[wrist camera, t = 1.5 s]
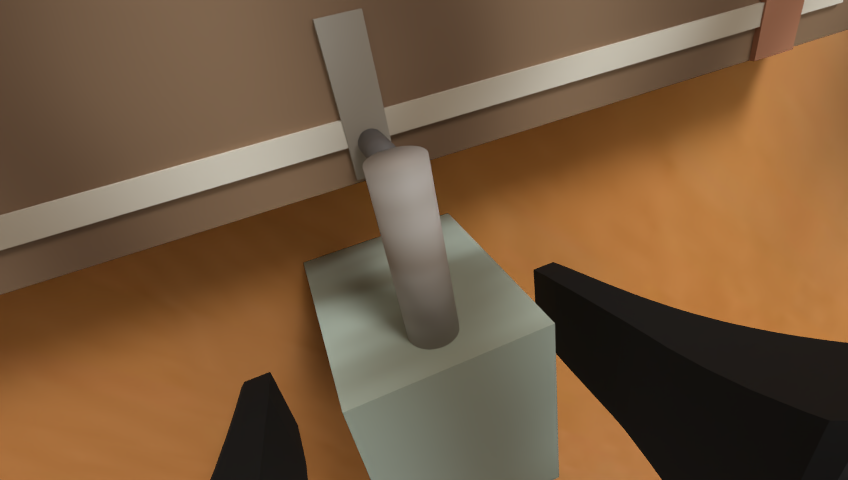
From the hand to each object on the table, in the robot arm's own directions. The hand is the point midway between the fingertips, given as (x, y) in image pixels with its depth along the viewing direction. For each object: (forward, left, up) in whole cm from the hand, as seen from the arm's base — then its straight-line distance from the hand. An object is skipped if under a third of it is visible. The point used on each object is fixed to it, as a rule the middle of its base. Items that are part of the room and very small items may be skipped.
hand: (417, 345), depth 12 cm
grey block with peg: (0, +2, -2) cm, 2 cm away
